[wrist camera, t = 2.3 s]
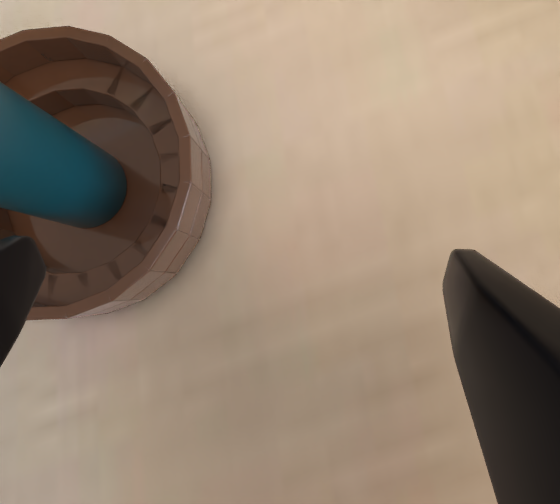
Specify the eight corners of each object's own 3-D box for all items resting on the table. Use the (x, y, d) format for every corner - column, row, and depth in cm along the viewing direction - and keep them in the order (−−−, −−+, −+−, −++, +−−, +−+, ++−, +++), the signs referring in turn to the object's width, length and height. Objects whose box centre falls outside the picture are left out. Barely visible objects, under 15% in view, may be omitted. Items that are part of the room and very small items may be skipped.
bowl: (173, 344, 23) (140, 357, 19) (-53, 275, 25) (-134, 273, 20) (243, 103, 24) (227, 61, 20) (21, 50, 26) (-41, 0, 21)
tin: (114, 239, 23) (-75, 193, 12) (37, 217, 24) (-216, 153, 12) (139, 158, 24) (-22, 37, 12) (62, 138, 24) (-162, 4, 13)
